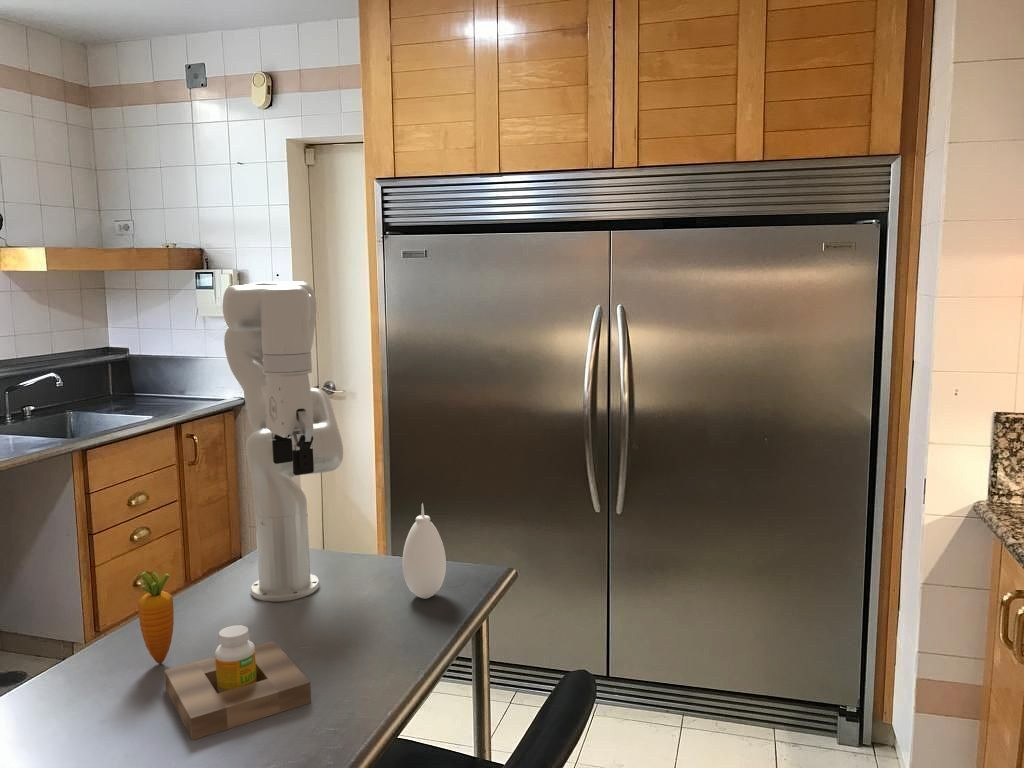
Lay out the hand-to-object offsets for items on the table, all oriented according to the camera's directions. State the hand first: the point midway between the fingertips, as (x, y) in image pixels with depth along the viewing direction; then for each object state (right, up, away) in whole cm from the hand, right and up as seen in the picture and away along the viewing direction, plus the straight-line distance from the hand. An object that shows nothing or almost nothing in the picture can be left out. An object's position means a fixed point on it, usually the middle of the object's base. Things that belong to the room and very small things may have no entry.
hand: (293, 468), depth 133 cm
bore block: (-4, -31, -17) cm, 35 cm away
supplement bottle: (-4, -31, -17) cm, 35 cm away
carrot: (-19, -30, -7) cm, 36 cm away
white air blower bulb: (+20, -26, +18) cm, 37 cm away
